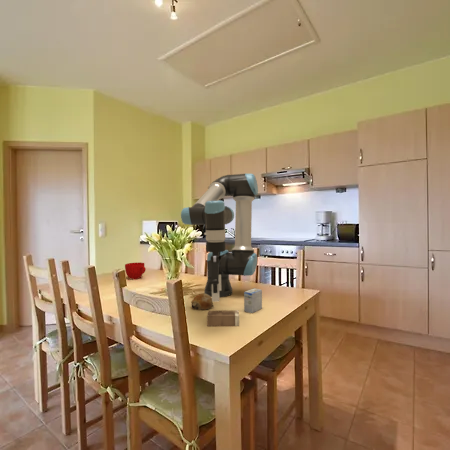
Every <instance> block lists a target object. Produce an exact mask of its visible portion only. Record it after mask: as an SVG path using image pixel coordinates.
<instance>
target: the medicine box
mask: <svg viewBox="0 0 450 450" xmlns="http://www.w3.org/2000/svg"><path fill="white" fill-rule="evenodd" d="M243 302H244V303H243V306H244V307H243V309H244V312H246V313H249V314H253V313H256V312H258V311H260V310H261V309H262V308H263V289H259V288H252V289H248V290H246V291H244V292H243Z"/></svg>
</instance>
